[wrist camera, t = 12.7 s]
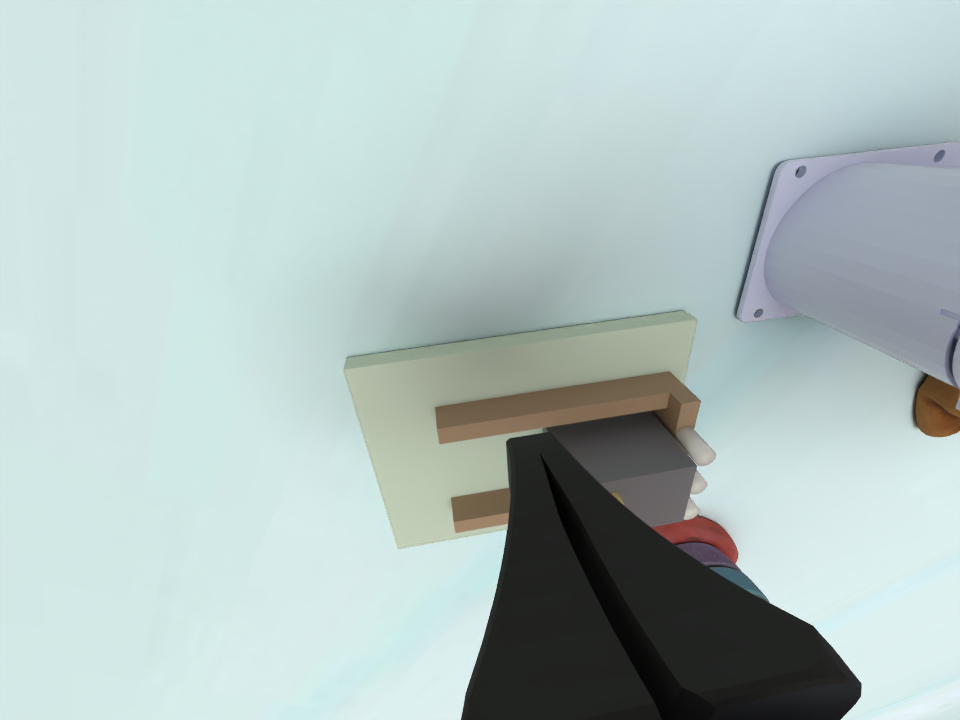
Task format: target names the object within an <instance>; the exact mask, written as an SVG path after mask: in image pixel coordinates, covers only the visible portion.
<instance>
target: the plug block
mask: <svg viewBox="0 0 960 720" xmlns="http://www.w3.org/2000/svg"><path fill="white" fill-rule="evenodd" d="M545 432H552V433H553V434H554V435H555V436H556V437H557V438H558V439H559V440H560V442H561V443H562V444H563V445H564V446H565V447H566V448H567V450H568V451H569V452H570V453H571V454H572V455H573V456H574V457H575V458H576V459H577V460H578V462H579V463H580V464H581V465H582V466H583V467H584V468H585V469H586V470H587V471H588V472H589V473H590V474H591V475H592V476H593V477H594V478H595V479H596V480H597V481H598V482H599V483H600V484H601V485H602V486H603V487H605V488H606V489H607V490H608V491H609V492H610V493H611V494H612V495H613V496H614V497H615V498H617V499H618V500H619V501H620V502H621V503H622V504H623V505H625V506H626V507H627V508H628V509H629V510H630V511H632V512H633V513H634V514H635V515H636V516H638V517H639V518H640V519H641V520H642V521H644V522H645V523H646V524H648V525H649V526H650V527H656V526H661V525H666V524H672V523H677V522H682V521H683V520H684V516H685V512H686V508H687V504H688V500H689V496H690V492H691V488H692V484H693V480H694V476H695V472H696V468H697V465H696V464H695V463H694V462H693V460H692V459H691V458H690V457H689V456H688V454H687V453H686V452H685V451H684V450H683V448H682V447H681V446H680V445H679V444H678V442H677V441H676V440H675V439H674V438H673V436H672V435H671V434H670V433H669V432H668V430H667V429H666V428H665V427H664V426H663V424H662V423H661V422H660V421H659V420H658V418H657V417H656V416H655V415H654V414H653V412H652V411H646V412H639V413H633V414H627V415H621V416H614V417H608V418H602V419H596V420H589V421H583V422H577V423H571V424H564V425H558V426H552V427H546V428H543V433H545Z"/></svg>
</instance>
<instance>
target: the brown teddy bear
mask: <svg viewBox="0 0 960 720" xmlns="http://www.w3.org/2000/svg"><path fill="white" fill-rule="evenodd" d="M959 397H960V389H958V388H956V387H954V386H952V385H950V384H947V383H945V382H943V381H941V380H939V379H937V378H935V377H933V376H931V375H928V377H927V378H926V379H925V381H924V382H923V384H922V385H921V386H920V388H919V390H918V393H917V398H916V408H915V410H916V420H917V426H918V427H919V429H920V430H921V431H922V432H923V433H924V434H926V435H928V436H932V437H946V436H950V435H952V434H955V433H957V432H959V431H960V411H959V410H957V409H956V405H957V403H958V400H959Z"/></svg>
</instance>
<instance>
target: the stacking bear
mask: <svg viewBox="0 0 960 720" xmlns="http://www.w3.org/2000/svg"><path fill="white" fill-rule="evenodd" d="M651 528H653V529H654V530H655V531H657V532H658V533H659V534H661V535H662V536H663V537H665V538H666V539H667V540H669V541H670V542H672V543H673V544H674V545H676V546H677V547H679V548H680V549H681V550H683V551H684V552H686V553H687V554H689V555H690V556H692V557H694V558H695V559H697V560H698V561H700V562H701V563H703V564H704V565H706V566H707V567H709V568H710V569H712V570H714V571H715V572H717V573H718V574H720V575H721V576H723V577H724V578H726V579H728V580H730V581H731V582H733V583H735V584H736V585H738V586H740V587H741V588H743V589H745V590H747V591H748V592H750V593H752V594H754V595H755V596H757V597H759V598H761V599H763V600H765V601H767V602H768V603H769V600H768V599H767V598H766V596H765V595H764V594H763V593H762V592H761V591H760V589H759V588H758V587H757V586H756V585H755V584H754V583H753V582H752V581H751V580H750V579H749V578H748V576H746V575H745V574H744V573H742V571H741V570H740V569H739V568H738V567H737V566H736V565H735V563H736V561H737V559H738V551H737V548H736V545H735V543H734V542H733V540H732V538H731V537H730V535H729V534H728V533H727V532H726V531H725V530H724V529H723V528H722V527H721V526H719V525H718V524H716V523H715V522H713V521H711V520H708V519H705V518H702V517H698V516H696V517H694V518H692V519H689V520H683V521H682V522H677V523H672V524H666V525H661V526H656V527H651Z"/></svg>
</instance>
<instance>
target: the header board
mask: <svg viewBox="0 0 960 720" xmlns="http://www.w3.org/2000/svg"><path fill="white" fill-rule="evenodd" d="M697 320H698V319H696V318H695V317H693V316H692V315H690V314H689V313H687V312H686V311H684V310H683V311H676V312H669V313H662V314H655V315H647V316H640V317H633V318H626V319H619V320H612V321H605V322H597V323H590V324H583V325H576V326H569V327H562V328H555V329H547V330H540V331H533V332H526V333H519V334H512V335H505V336H497V337H490V338H483V339H476V340H469V341H462V342H455V343H447V344H440V345H433V346H426V347H419V348H412V349H405V350H397V351H390V352H383V353H376V354H369V355H362V356H355V357H347V359H346V363H345V366H344V369H343V370H344V374H345V377H346V380H347V384H348V387H349V390H350V393H351V397H352V400H353V403H354V406H355V410H356V413H357V416H358V420H359V423H360V426H361V429H362V433H363V436H364V439H365V443H366V446H367V449H368V452H369V456H370V459H371V462H372V466H373V469H374V472H375V475H376V479H377V482H378V485H379V488H380V492H381V495H382V498H383V502H384V505H385V508H386V511H387V515H388V518H389V521H390V525H391V528H392V531H393V534H394V538H395V541H396V544H397V548H398V549H402V548H407V547H413V546H419V545H424V544H430V543H435V542H441V541H446V540H452V539H458V538H463V537H469V536H474V535H480V534H486V533H491V532H497V531H502V530H507V528H508V519H509V509H510V497H511V494H510V489H509V481H508V466H507V451H506V441H507V440H508V439H509V438H514V437H520V436H526V435H533V434H539V433H543V428H546V427H552V426H558V425H564V424H571V423H577V422H583V421H589V420H596V419H602V418H608V417H614V416H621V415H627V414H633V413H639V412H646V411H652V412H653V414H654V415H655V416H656V417H657V418H658V420H659V421H660V422H661V423H662V424H663V426H664V427H665V428H666V429H667V430H668V432H669V433H670V434H671V435H672V436H673V438H674V439H675V440H676V441H677V442H678V444H679V445H680V446H681V447H682V448H683V450H684V451H685V452H686V453H687V454H689V456H690V457H691V458H692V459H693V460H694V462H695V463H696V464H697V465H699V466H705V465H708V464H710V463H711V462H712V461H713V460H714V459H715V457H716V453H715V452H714V451H713V450H712V448H711V447H710V446H709V445H708V444H707V443H706V442H705V441H704V440H703V439H702V438H701V437H700V435H699V434H698V433H697V432H696V431H695V430H694V427H695V423H696V419H697V415H698V411H699V407H700V403H701V401H700V400H699V399H698V398H697V397H696V396H695V395H694V394H693V393H692V392H691V391H690V390H689V389H688V388H687V387H686V386H685V385H684V380H685V375H686V371H687V366H688V362H689V357H690V352H691V348H692V343H693V338H694V334H695V329H696V324H697ZM706 487H707V482H706V481H705V480H704V478H703V477H702V476H701V475H700V473H699V472H698V471H697V470H696V472H695V476H694V480H693V484H692V488H691V492H690V494H698V493H700V492H702V491H703V490H705V488H706ZM698 513H699V508H698V507H697V506H696V504H695V503H694V502H693V500H692V499H691V498H690V496H689V500H688V504H687V508H686V512H685V516H684V520H689V519H692V518H694V517H696V516H697V515H698Z"/></svg>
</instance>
